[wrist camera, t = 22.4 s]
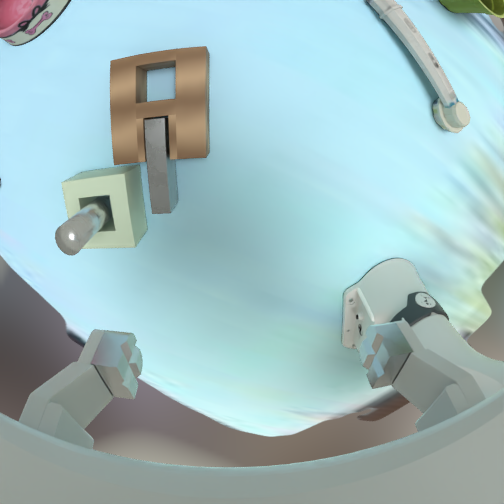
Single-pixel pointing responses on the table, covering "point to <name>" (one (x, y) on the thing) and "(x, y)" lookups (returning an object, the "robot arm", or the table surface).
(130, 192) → the square hole block
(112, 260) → the table surface
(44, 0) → the dog bowl
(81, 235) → the peg
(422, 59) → the white elongated piece
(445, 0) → the plant pot
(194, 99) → the socket block
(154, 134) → the block
